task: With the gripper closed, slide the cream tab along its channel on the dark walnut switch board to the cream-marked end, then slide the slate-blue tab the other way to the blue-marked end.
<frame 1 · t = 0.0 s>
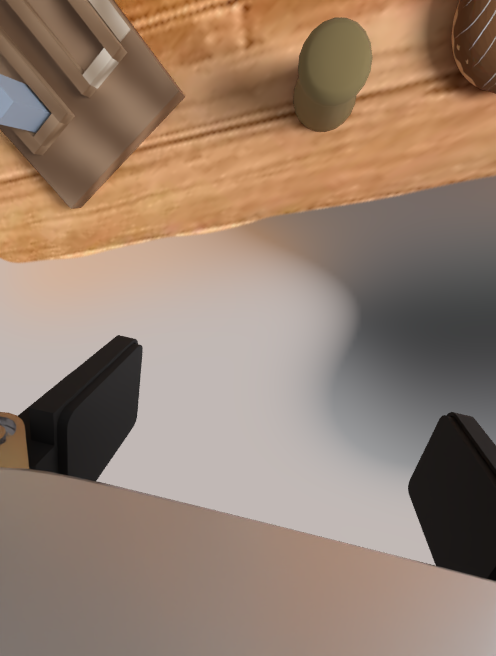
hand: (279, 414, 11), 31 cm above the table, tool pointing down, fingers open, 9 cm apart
slate-blue tab: (14, 103, 33), point 5 cm above the table, slide at 11.0 cm
switch board: (32, 36, 35), on the table
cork: (324, 97, 34), on the table
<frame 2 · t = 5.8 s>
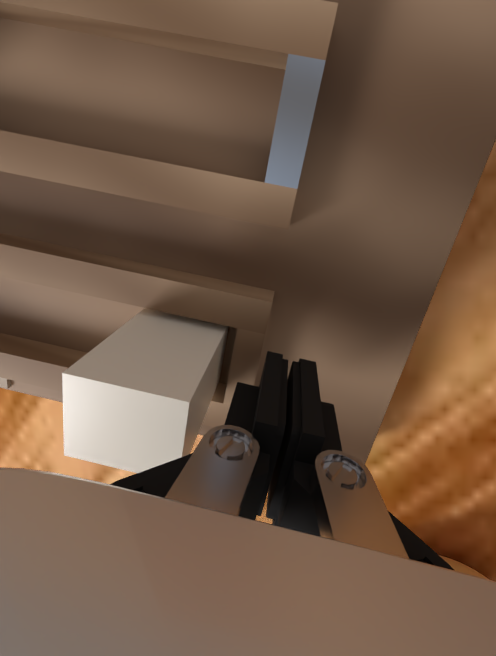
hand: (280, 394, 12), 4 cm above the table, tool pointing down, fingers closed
cream tab: (160, 377, 11), point 5 cm above the table, slide at 0.0 cm, touching gripper
switch board: (86, 210, 15), on the table
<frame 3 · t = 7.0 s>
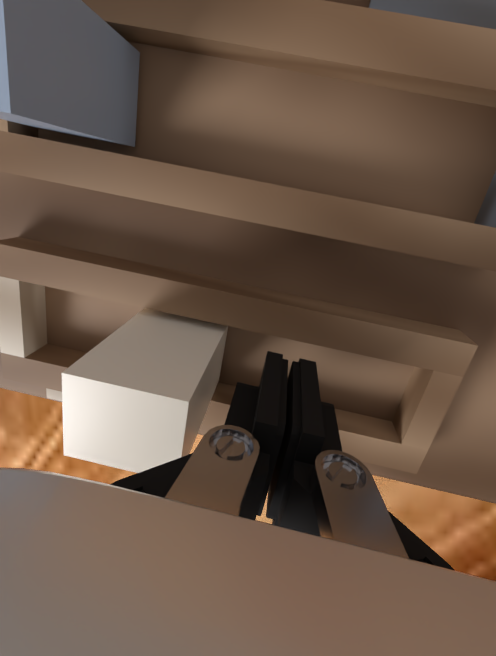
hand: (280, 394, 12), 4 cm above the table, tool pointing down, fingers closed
cream tab: (160, 377, 12), point 5 cm above the table, slide at 6.9 cm, touching gripper
slate-blue tab: (28, 64, 9), point 5 cm above the table, slide at 11.0 cm
switch board: (244, 242, 15), on the table
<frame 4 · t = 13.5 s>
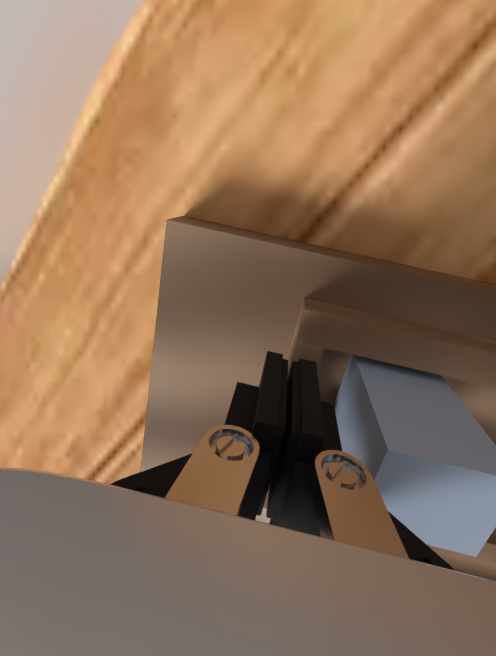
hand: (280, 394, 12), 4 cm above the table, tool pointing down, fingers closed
slate-blue tab: (402, 434, 11), point 5 cm above the table, slide at 10.1 cm, touching gripper
switch board: (437, 455, 17), on the table
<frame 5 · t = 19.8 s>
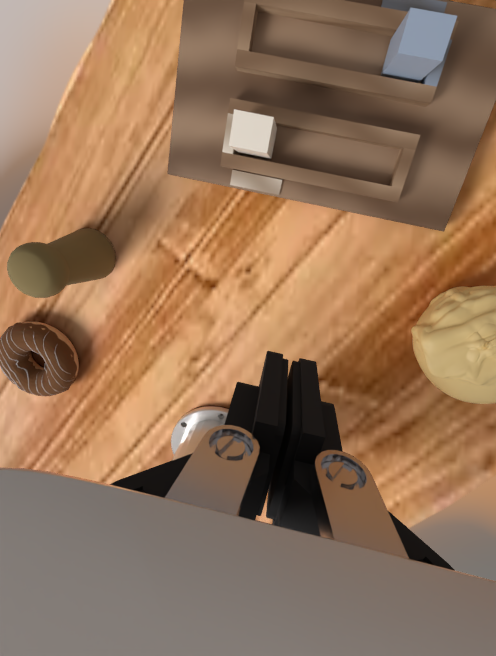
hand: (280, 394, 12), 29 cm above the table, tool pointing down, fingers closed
cream tab: (254, 136, 31), point 5 cm above the table, slide at 11.0 cm
donut: (49, 352, 48), on the table
slate-blue tab: (414, 49, 27), point 5 cm above the table, slide at 0.0 cm
sculpture: (455, 325, 40), on the table
switch board: (324, 108, 34), on the table
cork: (92, 253, 42), on the table
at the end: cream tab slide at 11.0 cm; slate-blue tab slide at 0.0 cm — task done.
